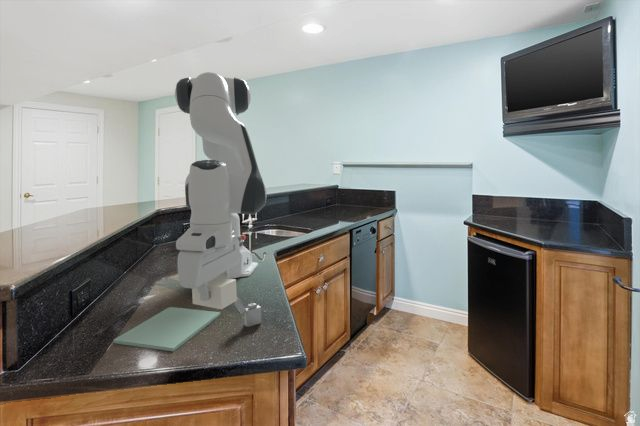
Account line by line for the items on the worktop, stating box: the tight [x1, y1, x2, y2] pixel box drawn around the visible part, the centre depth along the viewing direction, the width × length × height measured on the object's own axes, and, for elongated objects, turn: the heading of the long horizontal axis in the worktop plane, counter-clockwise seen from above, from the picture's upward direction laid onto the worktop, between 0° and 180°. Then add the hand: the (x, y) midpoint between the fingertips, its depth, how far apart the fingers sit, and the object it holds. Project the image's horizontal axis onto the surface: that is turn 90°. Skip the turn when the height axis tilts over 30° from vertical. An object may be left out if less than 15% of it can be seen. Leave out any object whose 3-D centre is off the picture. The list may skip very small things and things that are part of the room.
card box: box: [191, 277, 238, 310], centre depth 82 cm, size 6×8×5 cm
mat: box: [113, 306, 221, 353], centre depth 91 cm, size 20×16×1 cm
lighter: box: [233, 296, 262, 328], centre depth 92 cm, size 7×2×8 cm, turn 127°
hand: (214, 293), depth 82 cm, fingers closed on card box, 6 cm apart
